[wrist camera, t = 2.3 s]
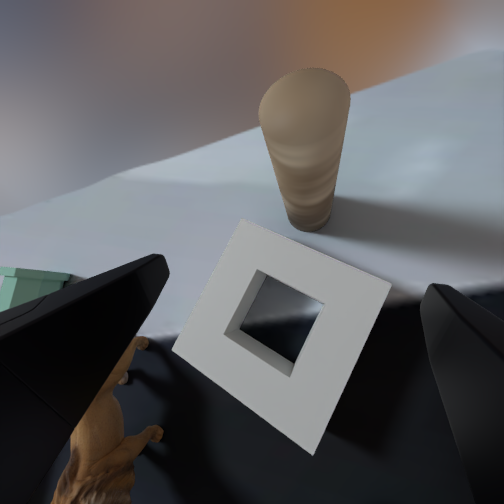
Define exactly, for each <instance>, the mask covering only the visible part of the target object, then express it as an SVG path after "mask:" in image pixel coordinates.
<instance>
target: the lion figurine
mask: <svg viewBox="0 0 504 504" xmlns="http://www.w3.org/2000/svg"><path fill="white" fill-rule="evenodd" d="M148 344H149V341H148V339H147V338H146V337H144V336H140V337H136V338H133V340H132V341H131V343H130V344H129V346H128V347H127V349H126V351H125V352H124V354H123V355H122V357H121V358H120V360H119V361H118V363H117V364H116V366H115V368H114V369H113V371H112V372H111V374H110V375H109V377H108V378H107V380H106V381H105V383H104V385H103V386H102V388H101V389H100V391H99V392H98V394H97V395H96V397H95V398H94V400H93V402H92V403H91V405H90V406H89V408H88V409H87V411H86V412H85V414H84V415H83V417H82V419H81V420H80V422H79V423H78V425H77V426H76V428H74V431H73V433H72V434H71V456H70V460H69V462H68V464H67V466H66V468H65V469H64V471H63V473H62V475H61V477H60V478H59V481H58V484H57V489H56V490H55V492H54V498H53V500H52V502H51V504H131V498H130V490H131V488H132V487H133V486H134V483H135V473H134V470H133V469H134V465H133V461H134V459H135V458H136V457H137V456H138V455H139V453H140V452H141V451H142V450H143V448H144V447H145V446H146V444H147V442H148V441H149V439H151V441H152V442H156V443H157V442H159V441H160V439H161V438H162V435H163V432H164V431H163V429H162V428H161V427H160V426H158V425H153V426H148V427H147V428H146V429H145V430H144V431H143V432H141V433H140V434H138V435H135V436H128V437H125V438H124V422H123V415H122V411H121V407H120V405H119V402H118V400H117V399H116V398H115V397H114V396H113V395H112V392H113V389H114V387H115V386H116V385H117V383H118V384H121V385H122V384H125V383H127V381H128V373H127V372H126V371H127V370H128V368H129V366H130V364H131V361H132V358H133V355H134V352H135V349H136V347H137V348H138V349H140V350H145V348H147V347H148Z"/></svg>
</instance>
